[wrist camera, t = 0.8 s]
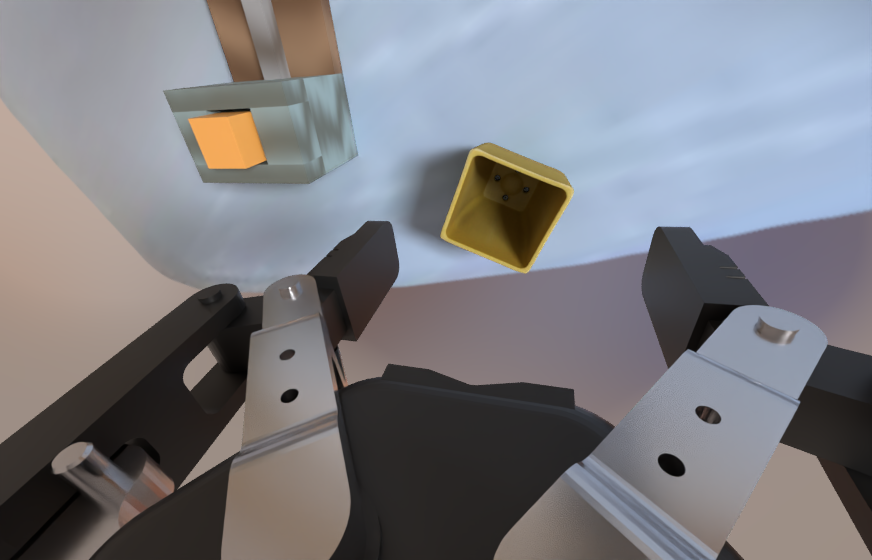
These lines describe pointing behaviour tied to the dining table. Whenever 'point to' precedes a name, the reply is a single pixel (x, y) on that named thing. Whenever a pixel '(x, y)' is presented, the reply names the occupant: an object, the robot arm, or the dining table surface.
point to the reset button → (228, 140)
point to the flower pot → (505, 206)
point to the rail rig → (276, 90)
